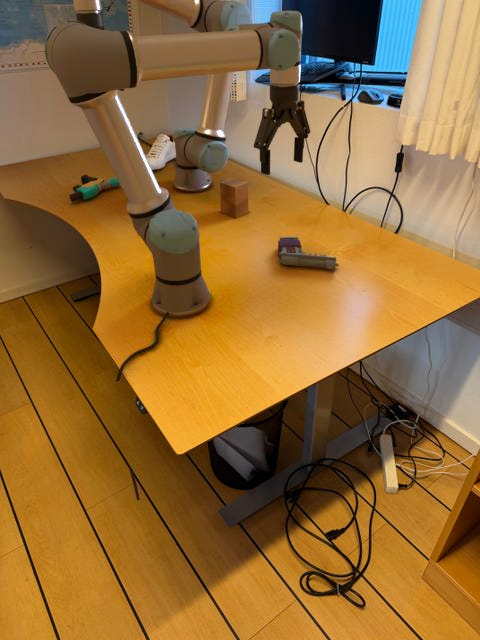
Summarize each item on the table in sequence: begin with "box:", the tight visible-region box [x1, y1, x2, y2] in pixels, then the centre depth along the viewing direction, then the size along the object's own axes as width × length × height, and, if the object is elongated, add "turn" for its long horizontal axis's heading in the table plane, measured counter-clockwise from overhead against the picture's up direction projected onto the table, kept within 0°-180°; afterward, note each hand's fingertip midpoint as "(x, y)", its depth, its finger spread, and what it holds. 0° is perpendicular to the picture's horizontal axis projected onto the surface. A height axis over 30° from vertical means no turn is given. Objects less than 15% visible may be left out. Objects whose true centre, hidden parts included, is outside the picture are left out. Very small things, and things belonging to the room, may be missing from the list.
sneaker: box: [145, 133, 176, 171], centre depth 214 cm, size 10×29×12 cm, turn 163°
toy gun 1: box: [69, 174, 121, 203], centre depth 188 cm, size 4×26×15 cm
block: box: [219, 177, 249, 219], centre depth 170 cm, size 8×7×11 cm
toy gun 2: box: [277, 236, 339, 270], centre depth 142 cm, size 4×19×15 cm
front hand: (282, 167), depth 133 cm, fingers open, 13 cm apart
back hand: (102, 93), depth 147 cm, fingers open, 13 cm apart
